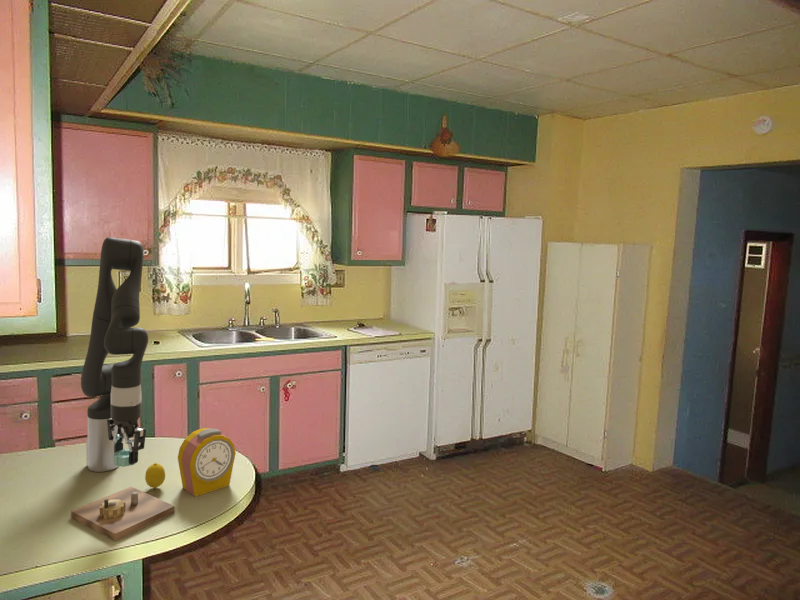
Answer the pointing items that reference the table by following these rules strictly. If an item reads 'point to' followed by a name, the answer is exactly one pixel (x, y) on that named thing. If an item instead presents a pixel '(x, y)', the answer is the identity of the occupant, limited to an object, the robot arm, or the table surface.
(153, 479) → the lemon
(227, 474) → the alarm clock
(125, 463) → the teal gear
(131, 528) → the gear board
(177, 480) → the table surface
